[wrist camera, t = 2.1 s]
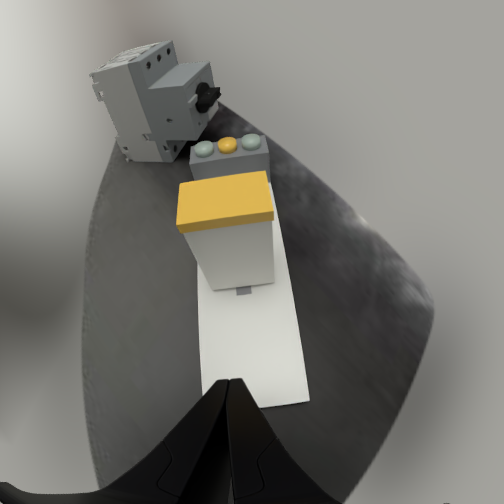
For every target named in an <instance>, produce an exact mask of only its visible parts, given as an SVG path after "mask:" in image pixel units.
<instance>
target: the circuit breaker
mask: <svg viewBox="0 0 504 504" xmlns="http://www.w3.org/2000/svg"><path fill="white" fill-rule="evenodd" d="M89 76H90V77H91V76H92V78H93V82H94V84H93V85H92V86H93V89H94V92H95V94H96V96H97V99H98V101H104V102H105V105H106V107H107V109H108V112H109V114H110V116H111V119H112V121H113V123H114V125H115V128H116V130H117V132H118V135H117V136H116V137H115V138H116V141H117V143H118V145H119V147H120V149H121V151H122V153H123V154H125V155H126V157H127V159H126V161H127V162H129V161H130V160H133V161H134V162H173V161H174V160H175V158H176V157H177V155H178V154H179V152H180V151H181V149H182V148H183V146H184V145H185V143H186V142H187V140H197V139H198V138H199V136H200V135H201V133H202V132H203V130H204V129H205V128H206V126H207V125H208V124H207V123H209V122H210V120H211V119H212V117H213V116H214V114H215V113H216V112H217V110H218V109H219V108H218V103H217V99H218V98H219V97H220V96H221V93H220V87H216V88H215V87H214V82H213V76H212V71H211V66H210V62H209V61H206V62H195V63H184V64H178V61H177V57H176V53H175V49H174V46H173V41H172V40H170V41H164V42H159V43H155V44H151V45H146V46H142V47H138V48H134V49H130V50H128V51H123V52H122V53H120V54H118V55H117V56H115V57H114V58H112V59H111V60H110V62H108V63H105V64H103V65H102V66H100V67H99V68H98V69H96V70H95V71H94V72H92V73H91V74H89ZM100 91H103V94H104V95H102V96H101V95H100V93H99V92H100ZM124 147H127V148H128V150H125V149H124Z"/></svg>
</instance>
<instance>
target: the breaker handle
mask: <svg viewBox="0 0 504 504" xmlns="http://www.w3.org/2000/svg"><path fill="white" fill-rule="evenodd" d="M272 221H274V210H273V205H272V200H271V195H270V190H269V185H268V180H267V175H266V170H265V171H257V172H250V173H242V174H235V175H228V176H222V177H215V178H209V179H203V180H197V181H192V182H186V183H181V184H180V188H179V198H178V209H177V222H176V226H177V228H178V230H179V232H180V234H181V233H183V234H184V236H185V238H186V240H187V242H188V244H189V246H190V248H191V250H192V252H193V254H194V256H195V258H196V260H197V262H198V264H199V266H200V268H201V270H202V272H203V274H204V276H205V278H206V280H207V282H208V284H209V285H210V287H211V289H212V290H218V289H227V288H235V287H243V286H251V285H258V284H266V283H273V282H275V281H274V253H273V229H272Z"/></svg>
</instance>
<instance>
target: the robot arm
mask: <svg viewBox="0 0 504 504" xmlns="http://www.w3.org/2000/svg"><path fill="white" fill-rule="evenodd" d="M231 477H232V487H233V496H234V504H342V503H340V502H338V501H336V500H335V499H333V498H332V497H330V496H329V495H328V494H327V493H326V492H324V491H323V490H322V489H321V488H320V487H319V486H318V485H317V484H316V483H315V482H314V481H313V480H312V479H311V478H310V477H309V476H308V475H307V474H306V473H305V472H304V471H303V470H302V469H301V468H300V467H299V466H298V465H297V464H296V462H295V461H294V460H293V459H292V458H291V457H290V455H289V454H288V453H287V451H286V450H285V448H284V447H283V445H282V444H281V442H280V441H279V439H278V438H277V436H276V435H275V433H274V431H273V430H272V428H271V427H270V425H269V423H268V422H267V420H266V418H265V417H264V415H263V413H262V412H261V410H260V408H259V407H258V405H257V403H256V401H255V400H254V398H253V396H252V395H251V393H250V391H249V389H248V388H247V386H246V384H245V382H244V380H243V379H242V378H232V379H230V380H229V379H218V380H216V381H215V383H214V384H213V385H212V386H211V387H210V388H209V390H208V391H207V392H206V393H205V394H204V395H203V396H202V397H201V399H200V400H199V401H198V402H197V403H196V404H195V405H194V406H193V408H192V409H191V410H190V411H189V412H188V413H187V414H186V415H185V416H184V417H183V419H182V420H181V421H180V422H179V423H178V424H177V425H176V426H175V427H174V428H173V429H172V430H171V431H170V432H169V434H168V435H167V436H166V437H165V438H164V439H163V441H161V442H160V443H159V444H158V445H157V446H156V447H155V448H154V449H153V450H152V451H151V452H150V453H149V454H148V455H147V456H146V457H144V458H143V459H142V460H141V461H140V462H138V463H137V464H136V465H135V466H133V467H132V468H131V469H130V470H128V471H127V472H126V473H124V474H123V475H122V476H120V477H119V478H117V479H116V480H115V481H113V482H112V483H110V484H109V485H108V486H106V487H104V488H102V489H100V490H97V491H94V492H90V493H78V494H33V493H28V492H24V491H21V490H19V489H17V488H16V487H14V486H13V485H11V484H9V483H7V482H0V502H1V503H3V504H228V496H229V488H230V479H231ZM446 504H449V503H446Z"/></svg>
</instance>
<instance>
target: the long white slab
mask: <svg viewBox="0 0 504 504" xmlns="http://www.w3.org/2000/svg"><path fill="white" fill-rule="evenodd" d="M189 165H190V168H191V171H192V174H193V177H194V180H195V181H197V180H203V179H209V178H215V177H222V176H228V175H235V174H242V173H250V172H257V171H265V170H266V175H267V180H268V185H269V190H270V195H271V200H272V205H273V210H274V221H272V229H273V253H274V281H275V282H273V283H266V284H258V285H251V286H243V287H235V288H227V289H218V290H212V289H211V287H210V285H209V284H208V282H207V280H206V278H205V276H204V274H203V272H202V270H201V268H200V266H199V264H198V316H199V342H200V362H201V378H202V392H203V395H204V394H205V393H206V392H207V391H208V390H209V388H210V387H211V386H212V385H213V384H214V383H215V381H216V380H218V379H229V380H230V379H232V378H242V379H243V380H244V382H245V384H246V386H247V388H248V389H249V391H250V393H251V395H252V396H253V398H254V400H255V401H256V403H257V405H258V407H259V408H262V407H271V406H279V405H286V404H293V403H299V402H305V401H310V399H309V392H308V385H307V379H306V372H305V365H304V359H303V353H302V346H301V340H300V334H299V328H298V322H297V316H296V310H295V305H294V299H293V293H292V288H291V282H290V277H289V271H288V266H287V261H286V256H285V250H284V245H283V240H282V235H281V230H280V225H279V220H278V215H277V210H276V205H275V201H274V196H273V191H272V186H271V180H270V162H269V151H268V147H267V143H266V139H265V135H263V136H258V135H256V134H247V135H245V136H243V137H242V138H239V139H235V138H232V137H225V138H222V139H221V140H219V141H218V142H213V143H212V142H210V141H202V142H199V143H197V144H196V145H195V146H191V153H190V163H189Z"/></svg>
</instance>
